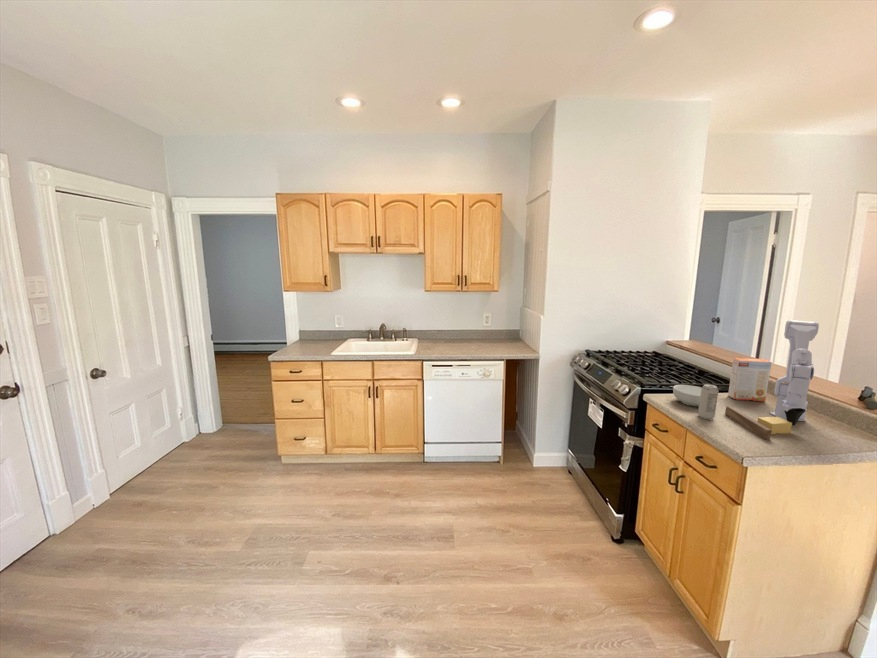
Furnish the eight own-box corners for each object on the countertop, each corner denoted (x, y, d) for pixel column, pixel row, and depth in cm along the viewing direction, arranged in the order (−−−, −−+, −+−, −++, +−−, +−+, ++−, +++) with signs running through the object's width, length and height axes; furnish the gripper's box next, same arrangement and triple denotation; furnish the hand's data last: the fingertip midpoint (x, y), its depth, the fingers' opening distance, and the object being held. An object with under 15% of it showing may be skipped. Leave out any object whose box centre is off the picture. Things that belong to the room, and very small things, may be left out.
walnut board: (729, 414, 165) (731, 406, 164) (770, 439, 142) (771, 430, 141) (724, 414, 165) (726, 406, 165) (764, 439, 142) (766, 429, 141)
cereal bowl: (720, 411, 168) (722, 397, 167) (680, 408, 172) (682, 394, 170) (701, 398, 185) (703, 385, 183) (666, 396, 188) (667, 383, 187)
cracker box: (758, 397, 185) (764, 358, 181) (765, 402, 179) (772, 362, 176) (726, 395, 188) (732, 357, 184) (733, 399, 183) (739, 360, 179)
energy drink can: (707, 414, 165) (711, 383, 162) (717, 420, 159) (722, 388, 156) (694, 414, 165) (698, 383, 162) (704, 420, 159) (709, 388, 156)
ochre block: (775, 426, 153) (777, 416, 152) (790, 433, 147) (792, 422, 147) (756, 427, 152) (758, 417, 152) (770, 434, 146) (772, 423, 146)
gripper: (795, 387, 152) (789, 417, 154) (774, 392, 147) (768, 423, 149) (817, 393, 145) (810, 424, 148) (796, 398, 140) (790, 430, 143)
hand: (791, 424), depth 148 cm, fingers closed
